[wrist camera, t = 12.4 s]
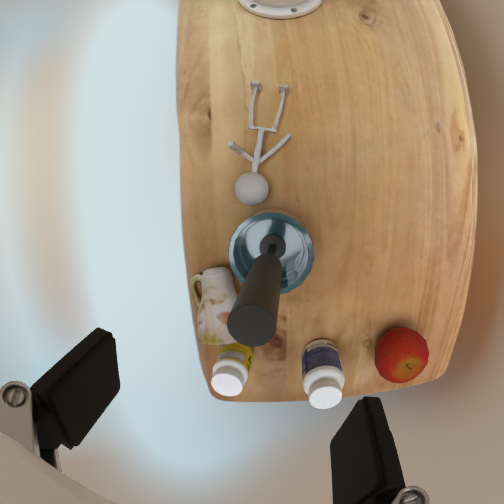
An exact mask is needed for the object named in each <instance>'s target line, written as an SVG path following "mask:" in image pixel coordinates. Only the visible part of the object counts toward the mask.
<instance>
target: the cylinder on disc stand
mask: <svg viewBox="0 0 504 504" xmlns="http://www.w3.org/2000/svg"><path fill="white" fill-rule="evenodd" d="M259 250H260V253H261V255H259V256H258V257H257V258H256V259H255V260H254V262H253V264H252V266H251V268H250V270H249V272H248V275H247V277H246V279H245V281H244V283H243V286H242V288H241V290H240V292H239V294H238V296H237V299H236V301H235V303H234V305H233V307H232V309H231V312H230V314H229V316H228V319H227V328H228V331H229V333H230V335H231V336H232V338H233V339H234V340H236V341H237V342H238V343H240V344H242V345H245V346H251V347H256V346H261V345H264V344H266V343H267V342H269V341H270V340H271V339H272V338H273V336H274V334H275V332H276V325H277V316H278V306H279V297H280V287H281V277H282V264H281V262H280V260H279V259H280V258H281V257H282V256H283V255H284V253H285V250H286V244H285V241H284V240H283V239H282V238H281V237H280V236H278V235H276V234H270V235H267V236H265V237H264V238H263V239H262V240H261V242H260V246H259Z"/></svg>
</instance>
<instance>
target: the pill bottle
mask: <svg viewBox="0 0 504 504" xmlns="http://www.w3.org/2000/svg"><path fill="white" fill-rule="evenodd" d="M302 376H303V388H304V391H305V392H306V393H307V394H308V395H309V402H310V404H311V405H312V406H314V407H316V408H319V409H327V408H331V407H333V406H335V405H336V404H338V403H339V402H340V400H341V398H342V388H343V386H344V382H345V379H344V374H343V369H342V365H341V361H340V356H339V352H338V349H337V347H336V345H335V344H334V343H333V342H331V341H329V340H324V339H321V340H316V341H313V342H311V343H309V344H308V345H307V346H306V347H305V348H304V350H303V353H302Z"/></svg>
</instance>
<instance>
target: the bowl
mask: <svg viewBox="0 0 504 504" xmlns="http://www.w3.org/2000/svg"><path fill="white" fill-rule="evenodd" d="M270 234H276V235H278V236H280V237H281V238H282V239H283V240H284V241H285V244H286V250H285V253H284V255H283V256H282V257H281V258H280V259H279V260H280V262H281V264H282V277H281V287H280V294H283V293H286V292H290V291H291V290H293V289H294V288H296V287H297V286H299V285H300V284H301V283H302V282H303V281H304V280H305V278H306V277H307V275H308V274H309V273H310V270H311V267H312V263H313V260H314V252H313V243H312V240H311V238H310V235H309V233H308V231H307V229H306V227H305V225H304V223H303V222H302V221H301V220H300V219H298V218H297V217H296V216H295V215H294V214H292V213H290V212H287V211H285V210H283V209H271V208H268V209H264V210H261V211H258V212H255V213H254V214H252V215H251V216H250V217H248V218H247V219H246V220H245V221H243V222H242V223H241V224H240V225H239V226H238V227H237V229H236V230H235V232H234V234H233V235H232V237H231V239H230V244H229V250H228V256H229V262H230V267H231V269H232V270H233V272H234V274H235V276H236V277H237V279H238V280H239V281H240V282H241V283H242V284H243V283H244V281H245V279H246V277H247V275H248V272H249V270H250V268H251V266H252V264H253V262H254V260H255V259H256V258H257V257H258V256H259V255H261V253H260V250H259V246H260V242H261V240H262V239H263V238H264V237H265V236H267V235H270Z"/></svg>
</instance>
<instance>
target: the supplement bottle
mask: <svg viewBox="0 0 504 504" xmlns="http://www.w3.org/2000/svg"><path fill="white" fill-rule="evenodd" d="M252 358H253V347H251V346H245V345H242V344H240V343H238V342H236V343H232V344H223V345H222V348H221V350H220V353H219V355H218V357H217V360H216V362H215V364H214V367H213V377H212V379H211V385H212V387H213V389H214V390H215V391H216V392H218V393H219V394H221V395H224V396H235V395H237V394H239V393H240V392H241V391H242V388H243V385H244V383H245V382H246V381H247V379H248V375H249V371H250V366H251V362H252Z"/></svg>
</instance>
